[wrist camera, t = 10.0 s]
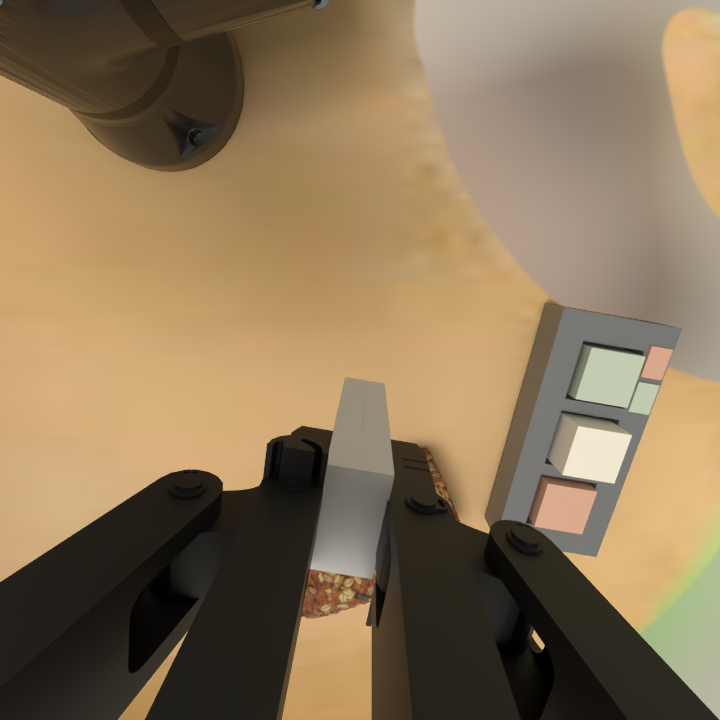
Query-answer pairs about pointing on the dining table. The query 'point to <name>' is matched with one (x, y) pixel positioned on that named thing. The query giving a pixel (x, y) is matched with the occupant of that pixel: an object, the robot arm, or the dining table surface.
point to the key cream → (588, 447)
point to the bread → (348, 591)
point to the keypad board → (549, 398)
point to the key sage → (605, 375)
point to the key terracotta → (562, 504)
